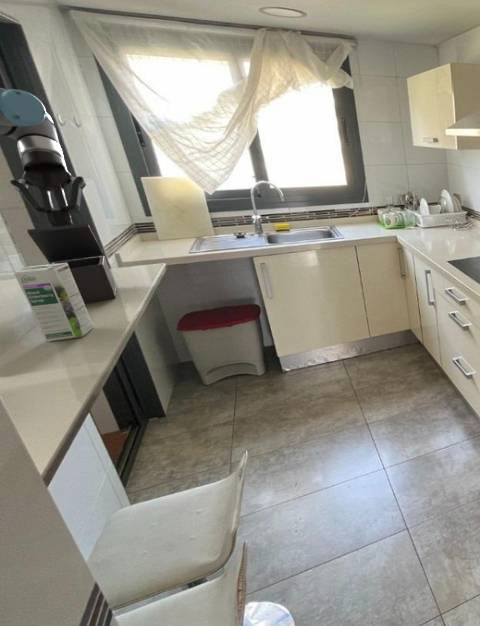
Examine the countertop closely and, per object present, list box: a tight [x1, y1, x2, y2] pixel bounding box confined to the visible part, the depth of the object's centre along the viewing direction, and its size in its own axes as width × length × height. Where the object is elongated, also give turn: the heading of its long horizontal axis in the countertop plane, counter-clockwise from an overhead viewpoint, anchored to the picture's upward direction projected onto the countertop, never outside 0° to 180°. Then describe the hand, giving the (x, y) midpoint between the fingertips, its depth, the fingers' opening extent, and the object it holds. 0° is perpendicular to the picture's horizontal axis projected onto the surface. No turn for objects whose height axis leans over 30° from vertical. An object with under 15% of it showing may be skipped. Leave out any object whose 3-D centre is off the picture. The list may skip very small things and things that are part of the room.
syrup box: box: [14, 263, 94, 343], centre depth 91 cm, size 6×6×14 cm
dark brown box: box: [48, 255, 117, 304], centre depth 114 cm, size 12×10×9 cm
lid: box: [26, 223, 105, 263], centre depth 112 cm, size 12×10×1 cm
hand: (64, 235), depth 110 cm, fingers closed
